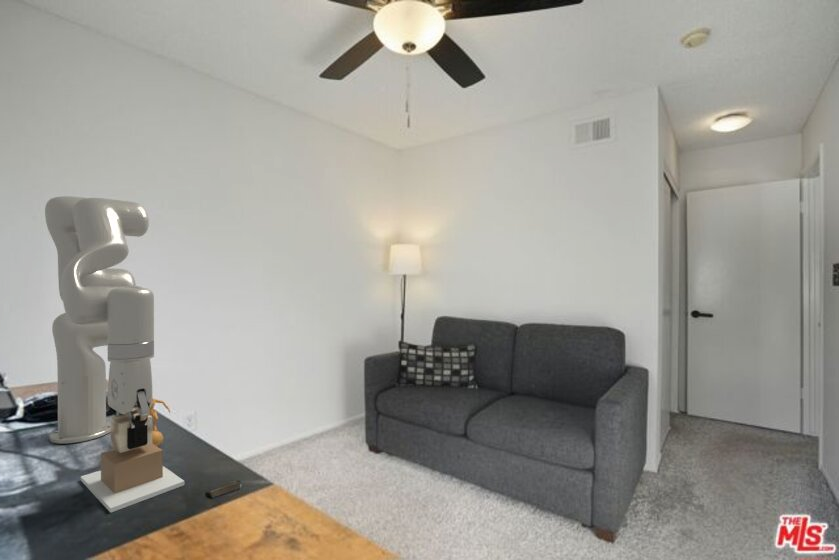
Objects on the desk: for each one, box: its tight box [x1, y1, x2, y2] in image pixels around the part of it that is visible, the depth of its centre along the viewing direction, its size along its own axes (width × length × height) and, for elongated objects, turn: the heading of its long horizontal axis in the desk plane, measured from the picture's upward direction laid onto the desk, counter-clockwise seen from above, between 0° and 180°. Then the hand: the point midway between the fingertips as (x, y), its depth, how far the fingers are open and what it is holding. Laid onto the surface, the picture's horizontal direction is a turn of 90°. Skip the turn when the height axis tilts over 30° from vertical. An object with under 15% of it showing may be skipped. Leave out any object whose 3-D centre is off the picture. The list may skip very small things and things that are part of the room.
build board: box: [80, 444, 185, 514], centre depth 82 cm, size 18×12×6 cm, turn 52°
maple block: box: [110, 413, 153, 453], centre depth 82 cm, size 5×5×5 cm
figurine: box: [134, 396, 171, 447], centre depth 99 cm, size 8×6×12 cm
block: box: [205, 479, 242, 499], centre depth 79 cm, size 4×6×2 cm, turn 139°
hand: (131, 441), depth 82 cm, fingers closed on maple block, 5 cm apart
